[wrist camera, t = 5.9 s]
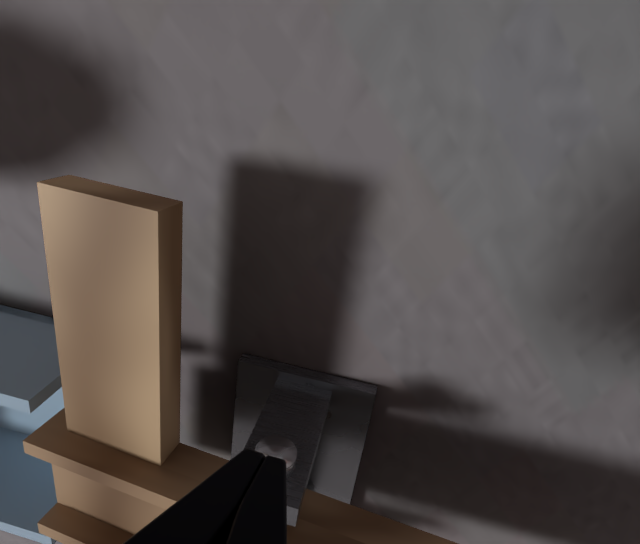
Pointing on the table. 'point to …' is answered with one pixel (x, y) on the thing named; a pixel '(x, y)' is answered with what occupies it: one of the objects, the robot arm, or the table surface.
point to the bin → (26, 418)
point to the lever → (136, 376)
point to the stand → (303, 425)
